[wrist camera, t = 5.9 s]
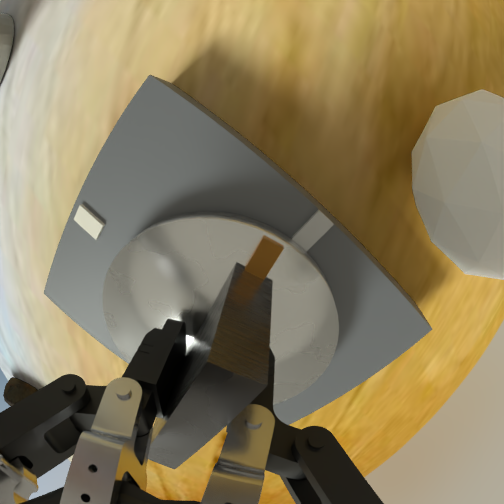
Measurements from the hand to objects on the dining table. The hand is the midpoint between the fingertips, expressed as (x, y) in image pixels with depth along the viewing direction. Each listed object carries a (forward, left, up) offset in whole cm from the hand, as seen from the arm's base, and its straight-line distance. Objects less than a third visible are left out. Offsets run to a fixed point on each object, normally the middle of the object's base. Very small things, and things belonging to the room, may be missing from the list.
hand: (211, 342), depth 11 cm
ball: (+4, +13, -4) cm, 15 cm away
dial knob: (0, 0, -1) cm, 2 cm away
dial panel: (0, 0, -4) cm, 4 cm away
